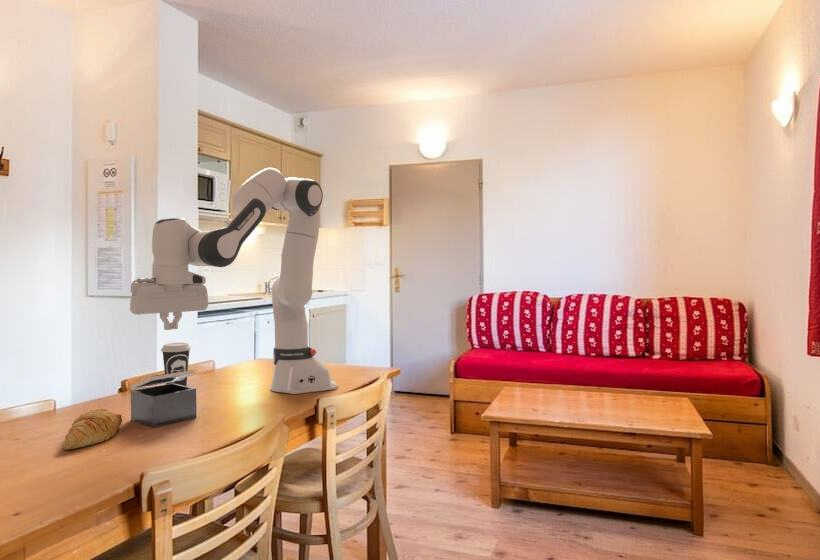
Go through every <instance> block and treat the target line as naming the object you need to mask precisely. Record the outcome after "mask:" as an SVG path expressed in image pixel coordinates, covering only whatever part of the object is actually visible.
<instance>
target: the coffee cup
mask: <svg viewBox="0 0 820 560" xmlns="http://www.w3.org/2000/svg"><path fill="white" fill-rule="evenodd" d="M191 350H192V349H191V346H190V345H189V342H168V343H164V344H163V346H162V347H161V350H160V352H162V358H163V359H162V361H163V368H164V369H163V370H164V374H167V373H173V372H175V373H178V372H184V371H189V370H188V369H189V358H190V351H191ZM171 383H175V384H179V385H183V386H188V376H187V377H185V378H182V379H180V380H177V381H175V382H171ZM171 383H165V384H171Z"/></svg>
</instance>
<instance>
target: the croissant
mask: <svg viewBox="0 0 820 560" xmlns="http://www.w3.org/2000/svg"><path fill="white" fill-rule="evenodd" d="M122 422H123V418H122V415H121V414H118V413H113V412H112V411H110V410H109V411H108V410H107V409H94V410H90V411H89V412H86V413H84V414H81V415H80V416H78V417H77V418H76V419H75V420H74V421H73V423H71V427H69V430H68V432H67V434H65V438H64V439H63V440H62V442H61V443H62V444H61V447H62V449H64V450H74V449H80V448H84V447H88V446H92V445H95V444H99V442H100V443H103V442H105V441H108V440H109V439H111V438H112V437H114V436H115V435H116V434H117V432H118V429H119V428H120V426H121V425H122ZM110 437H111V438H110ZM104 440H105V441H104ZM102 441H103V442H102Z"/></svg>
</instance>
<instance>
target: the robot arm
mask: <svg viewBox="0 0 820 560" xmlns="http://www.w3.org/2000/svg"><path fill="white" fill-rule="evenodd" d="M323 197H324V196H323V189H322V187H321V185H320V183H318V182H317V181H315V180H314V179H310V178H302V177H301V178H299V177H288V178H287V177H286V178H285V176H284V174H283V173H282V172H281V171H279V170H278V169H277V168H273V167H267V168H264V169H263V170H260V171H259V172H257V173H255V174H253V175H252V176H251V177H250V178H248V179H247V180H246V181H244V182H243V183H242V184H241V185H240V186H239V187H238V188H237V189H236V191H235V192H234V193H233V195H232V199H231V200H232V206H233V208H234V210H235V212H236V214H235V215H234V217H233V218H232V219H231V220H230V221H229V222H228V223H227V224H226V225H225V226H223V227H222V228H219V229H215V230H207V231H202V230H200V229H198V228H195V227H194V226H193V225H191V224H190V223H189V222H188V221H186V219H185V218H184V217H172V218H164V219H163V218H162V219H159V220H157V221H156V222H155V223H154V225H153V230H152V237H151V243H152V244H151V251H152V254H153V262H152V265H151V266H152V267H151V269H152V270H151V272H152V273H151V274H152V276H151V277H148V278H141V277H139V278H136V279H135V280H133V281H132V282H131V284H130V292H131V296H130V303H129V310H130V312H131V314H132V315H151V314H152V315H153V314H154V315H155V314H159V318H160V320H161V321H162V323H163V329H164V330H165V331H171V330H178V328H179V325H178V324H179V322H180V321H181V318H182V316H183V312H184V313H185V312H186V313H187V312H198V311H201V312H203V311H206V310H207V308H208V307H209V295H208V294H209V293H208V289H207V287H206V286H205V284H206V283H207V280H206V277H205V276H204V275H202V274H199V273H195V272H191V271H189V265H191V266H195V267H197V266H198V267H215V268H225V267H228V266H231V265H232V263H234V261H235V260H236V259H237V256H238V255H239V252H240V251H241V247H242V245H243V243H245V241H246V240H247V238H249V236H250V235H251V234H252V233H253V232H254V230H255V229H256V228H257V227H258V226H259V225H260V223H261V222H262V221H263V219H264V218H265V216H266V214H267V213H268V212H270V210H272V209H273V210H275V211H283V212H288V216H289V219H288V223H287V226H286V229H285V234H284V240H283V245H282V250H281V255H280V256H281V260H280V261H281V264H280V275H279V277H277V278H276V279H275V281H274V282H273V284H272V286H271V301H272V310H273V311H272V312H273V313H272V314H273V319H274V320H273V322H274V347H273V351H272V352H273V353H272V357H273V364H274V367H273V375H272V381H271V385H270V388H269V389H270V391H272V392H276V393H286V394H292V395H295V394H296V395H297V394H306V393H314V392H315V393H316V392H322V391H330V390H332V391H333V390H335V389H337V388H338V385H337V384H338V383H337V382H336V381H335V380H332V379H331V374H330V371H329V368H327V366H325V365H324V364H323V363H321V362H320V361H319V360H318V359H316V358H315V357H314V356H316V354H317V350H316V349H315V348H312V347H310V346H308V345H309V342H308V341H309V339H308V337H309V335H308V334H309V333H308V331H309V330H308V327H309V323H308V320H307V315H306V311H305V310H306V309H305V306H306V304H307V303H309V302H310V300H311V298H312V295H313V278H314V276H313V275H314V260H315V256H316V250H317V243H318V238H319V231H320V212H319V210H320V208H321V205H322V202H323V199H324V198H323ZM170 313H172V316H173V319H172V322H171V321H169V319H168V318H169V316H170Z"/></svg>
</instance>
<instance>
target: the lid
mask: <svg viewBox="0 0 820 560" xmlns="http://www.w3.org/2000/svg"><path fill="white" fill-rule="evenodd" d="M195 373H196V371H195V369H190V370H188V371H184V372H178V373H175V372H173V373H167V374H165V373H162V374H155V375H151V376H150V377H147V378H146V379H143V380H140V381H139V382H136V383H134V384H131V385H130V390H137V389H143V388H148V387H154V386H160V385H165V384H166V383H171V382H175V381H177V380H180V379H182V378H185V377H187V378H188V377H189V376H191V375H192V376H193V375H194V374H195Z"/></svg>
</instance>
